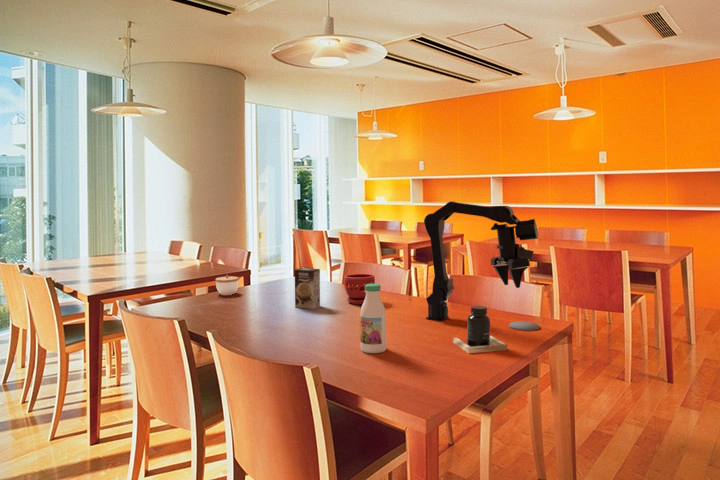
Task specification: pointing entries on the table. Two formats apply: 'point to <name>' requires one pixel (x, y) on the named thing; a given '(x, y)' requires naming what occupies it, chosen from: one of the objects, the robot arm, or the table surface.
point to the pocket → (496, 347)
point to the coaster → (524, 326)
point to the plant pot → (357, 287)
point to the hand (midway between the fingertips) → (512, 286)
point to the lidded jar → (227, 285)
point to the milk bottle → (373, 321)
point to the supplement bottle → (478, 327)
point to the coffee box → (307, 288)
